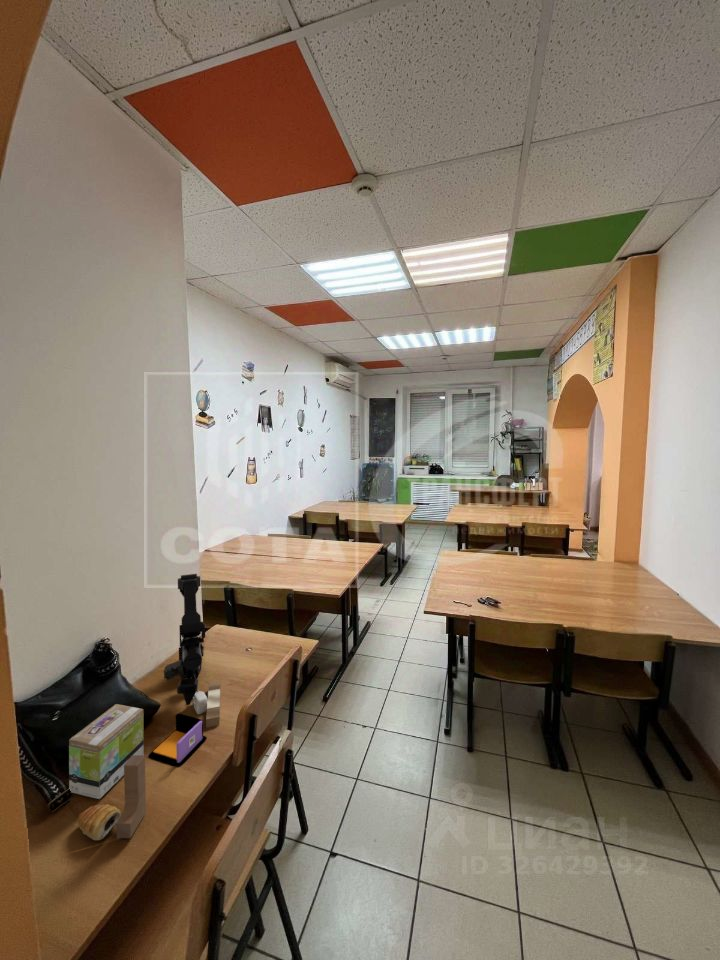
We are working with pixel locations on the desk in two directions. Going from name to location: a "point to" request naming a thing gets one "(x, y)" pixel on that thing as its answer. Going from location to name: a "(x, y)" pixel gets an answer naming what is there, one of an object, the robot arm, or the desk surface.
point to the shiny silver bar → (213, 705)
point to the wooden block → (133, 796)
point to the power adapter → (200, 702)
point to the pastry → (98, 820)
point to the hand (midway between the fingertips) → (189, 697)
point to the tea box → (105, 750)
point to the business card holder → (180, 742)
